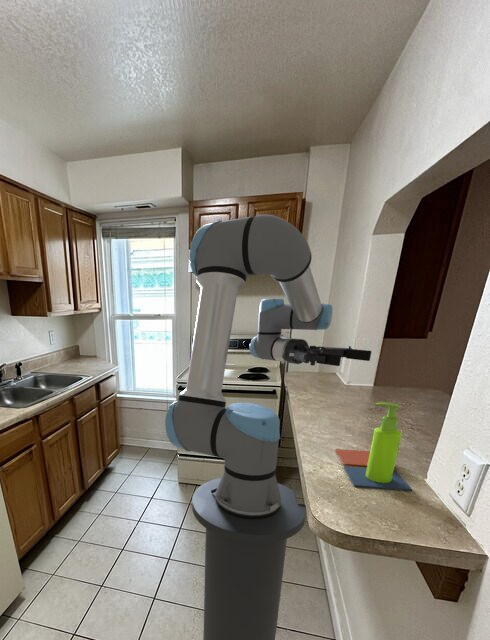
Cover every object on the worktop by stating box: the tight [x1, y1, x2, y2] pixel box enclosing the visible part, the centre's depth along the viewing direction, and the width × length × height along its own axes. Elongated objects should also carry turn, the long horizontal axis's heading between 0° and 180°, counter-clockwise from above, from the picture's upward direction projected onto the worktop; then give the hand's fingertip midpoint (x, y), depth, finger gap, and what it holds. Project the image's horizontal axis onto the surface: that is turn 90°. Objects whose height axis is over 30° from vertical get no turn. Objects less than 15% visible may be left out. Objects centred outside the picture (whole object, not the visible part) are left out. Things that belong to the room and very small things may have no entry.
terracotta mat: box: [335, 448, 395, 469], centre depth 105 cm, size 13×11×1 cm
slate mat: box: [343, 466, 413, 492], centre depth 93 cm, size 13×11×1 cm
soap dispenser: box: [366, 401, 403, 483], centre depth 90 cm, size 6×7×20 cm
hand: (355, 358), depth 94 cm, fingers open, 13 cm apart
